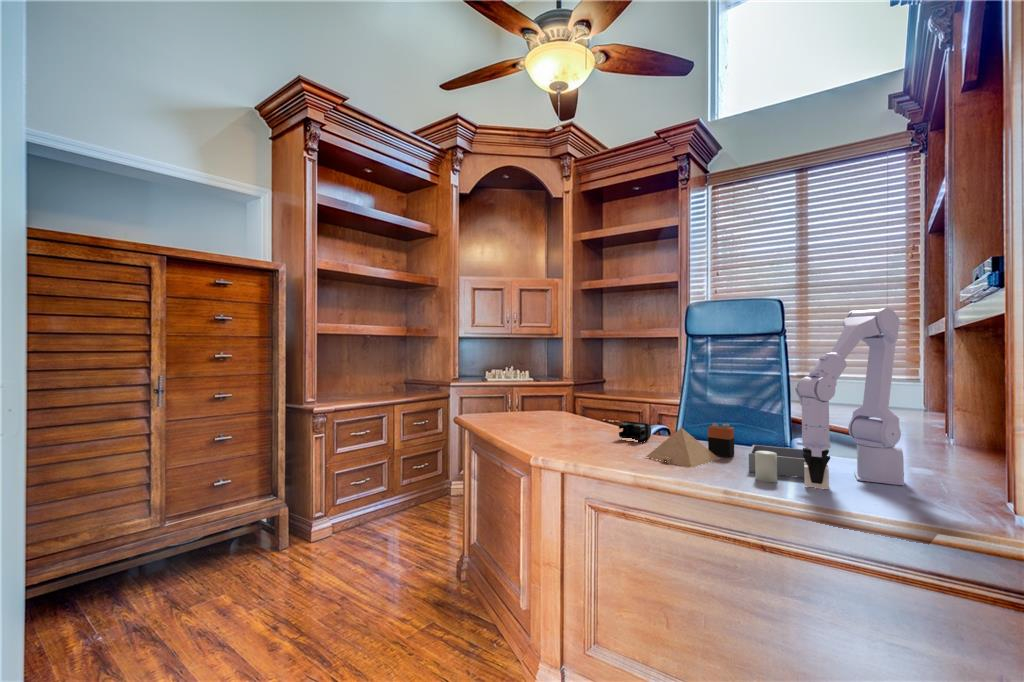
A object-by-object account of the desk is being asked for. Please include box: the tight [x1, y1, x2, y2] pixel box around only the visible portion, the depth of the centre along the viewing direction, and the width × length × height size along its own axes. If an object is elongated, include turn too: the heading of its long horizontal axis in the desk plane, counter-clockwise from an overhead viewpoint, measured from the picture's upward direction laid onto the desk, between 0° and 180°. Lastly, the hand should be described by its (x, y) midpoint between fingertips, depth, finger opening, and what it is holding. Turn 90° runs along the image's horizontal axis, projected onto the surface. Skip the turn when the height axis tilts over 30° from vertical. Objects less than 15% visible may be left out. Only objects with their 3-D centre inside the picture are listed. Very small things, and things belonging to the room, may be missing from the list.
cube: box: [803, 462, 830, 490], centre depth 117 cm, size 5×5×5 cm
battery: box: [707, 422, 735, 459], centre depth 151 cm, size 4×7×10 cm, turn 44°
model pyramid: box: [645, 427, 720, 468], centre depth 147 cm, size 17×17×10 cm
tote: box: [748, 444, 806, 478], centre depth 132 cm, size 17×13×5 cm
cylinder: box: [754, 451, 778, 483], centre depth 123 cm, size 5×5×7 cm
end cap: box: [618, 420, 652, 443], centre depth 176 cm, size 10×7×7 cm
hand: (816, 480), depth 117 cm, fingers closed on cube, 5 cm apart
